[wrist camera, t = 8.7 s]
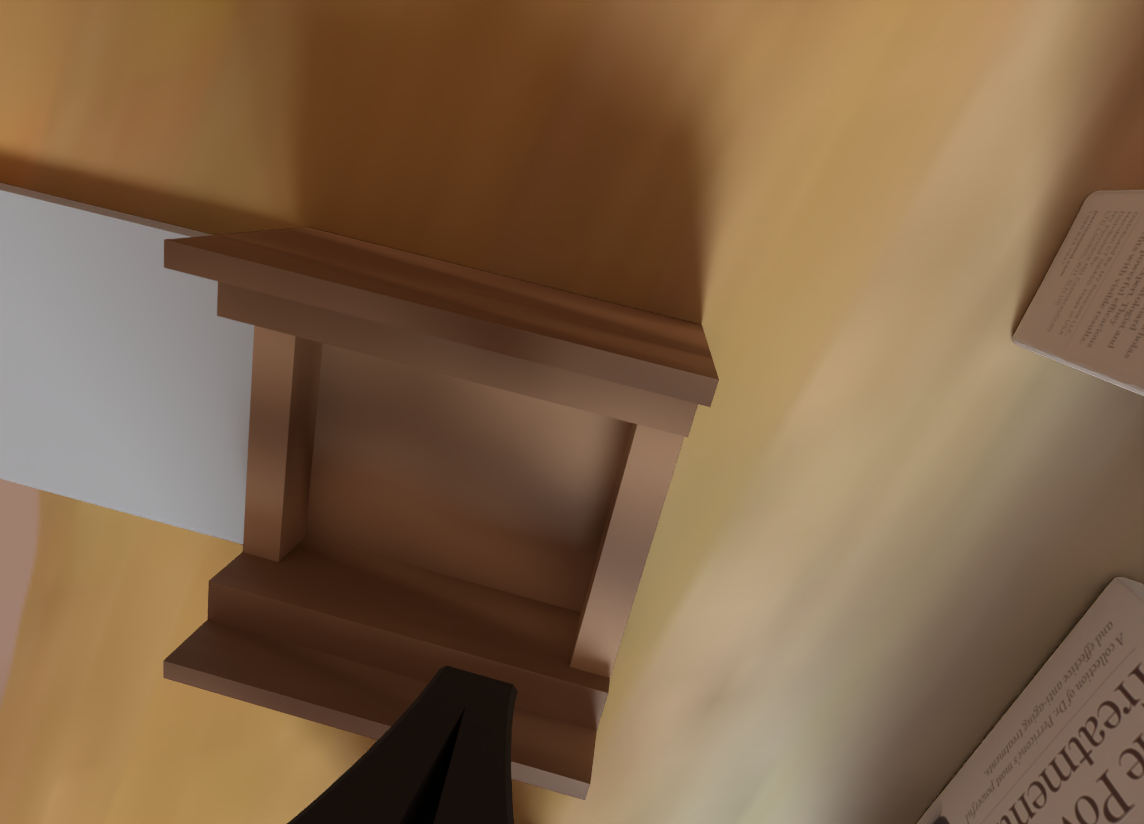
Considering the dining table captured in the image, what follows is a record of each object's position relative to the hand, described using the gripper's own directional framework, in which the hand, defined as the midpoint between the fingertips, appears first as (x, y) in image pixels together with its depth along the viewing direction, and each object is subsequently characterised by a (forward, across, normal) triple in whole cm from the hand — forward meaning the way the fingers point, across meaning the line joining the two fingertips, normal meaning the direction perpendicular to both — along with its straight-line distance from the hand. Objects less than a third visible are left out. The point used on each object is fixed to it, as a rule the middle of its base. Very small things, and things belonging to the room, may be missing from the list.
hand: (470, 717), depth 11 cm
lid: (+10, +14, 0) cm, 18 cm away
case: (+10, +3, 0) cm, 10 cm away
